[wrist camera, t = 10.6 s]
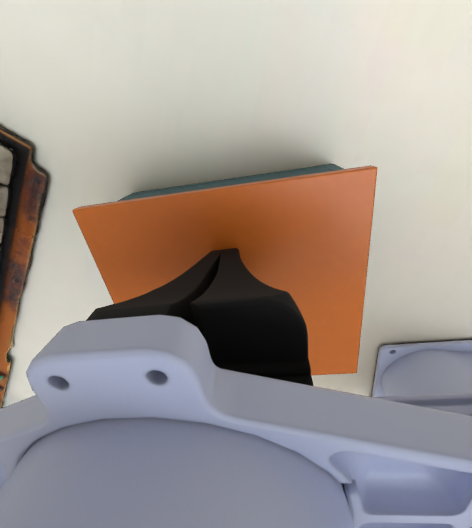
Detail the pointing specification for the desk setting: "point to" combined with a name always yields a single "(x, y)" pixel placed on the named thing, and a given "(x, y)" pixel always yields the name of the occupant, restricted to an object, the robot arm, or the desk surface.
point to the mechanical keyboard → (16, 233)
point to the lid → (253, 247)
